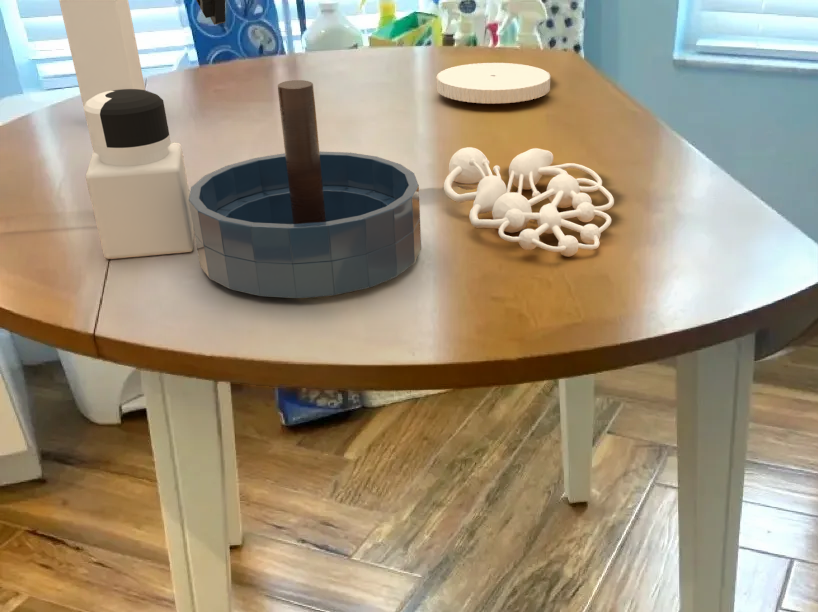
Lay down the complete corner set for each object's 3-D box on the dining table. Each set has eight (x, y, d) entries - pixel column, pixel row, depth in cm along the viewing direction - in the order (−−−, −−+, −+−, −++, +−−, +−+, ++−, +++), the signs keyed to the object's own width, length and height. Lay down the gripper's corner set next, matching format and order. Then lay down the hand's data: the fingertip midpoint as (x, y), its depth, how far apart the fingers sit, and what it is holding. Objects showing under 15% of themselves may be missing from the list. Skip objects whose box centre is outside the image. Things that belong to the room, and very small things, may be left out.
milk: (140, 125, 111) (97, -94, 98) (86, 127, 110) (36, -93, 98) (149, 111, 116) (110, -100, 103) (98, 112, 115) (52, -99, 103)
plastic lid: (415, 103, 117) (415, 81, 116) (471, 78, 127) (471, 58, 126) (518, 118, 112) (518, 95, 110) (567, 91, 121) (569, 69, 120)
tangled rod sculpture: (647, 268, 79) (657, 219, 76) (476, 269, 76) (481, 219, 73) (578, 184, 94) (585, 141, 92) (434, 183, 91) (436, 139, 89)
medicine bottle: (194, 222, 85) (170, 80, 78) (193, 253, 79) (167, 103, 72) (111, 229, 84) (79, 86, 77) (104, 261, 78) (68, 109, 71)
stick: (285, 264, 76) (264, 93, 68) (285, 243, 79) (265, 78, 72) (341, 260, 76) (326, 90, 69) (338, 239, 80) (323, 75, 72)
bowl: (195, 314, 70) (180, 235, 67) (208, 226, 84) (196, 158, 81) (434, 295, 72) (431, 218, 69) (407, 213, 86) (404, 146, 83)
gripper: (376, -300, 54) (344, -58, 69) (127, -275, 49) (150, -21, 64) (436, -204, 52) (390, 22, 67) (184, -168, 47) (194, 67, 62)
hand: (273, 1), depth 65 cm, fingers open, 8 cm apart
